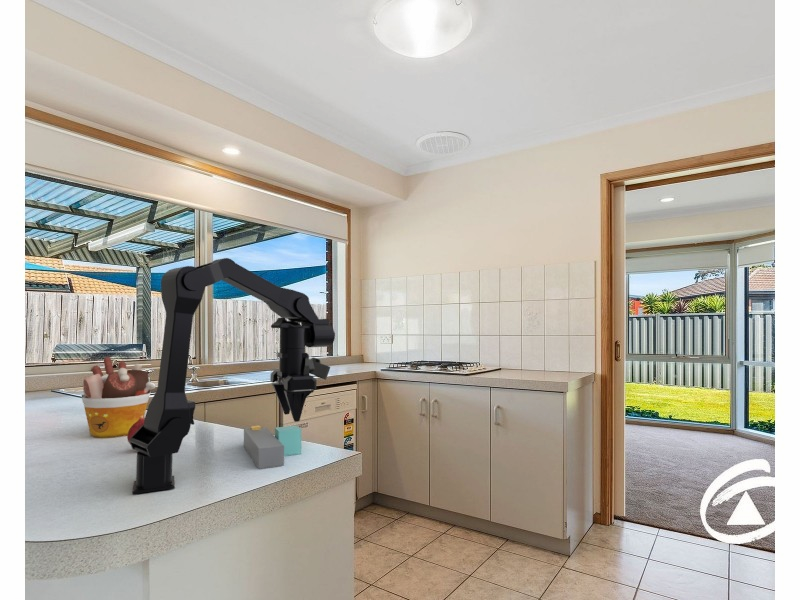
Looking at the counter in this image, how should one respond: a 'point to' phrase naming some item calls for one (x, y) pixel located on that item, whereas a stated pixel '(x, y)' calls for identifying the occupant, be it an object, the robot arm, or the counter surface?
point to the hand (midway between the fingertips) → (291, 417)
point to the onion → (135, 427)
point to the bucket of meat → (115, 399)
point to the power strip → (263, 447)
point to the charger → (289, 439)
